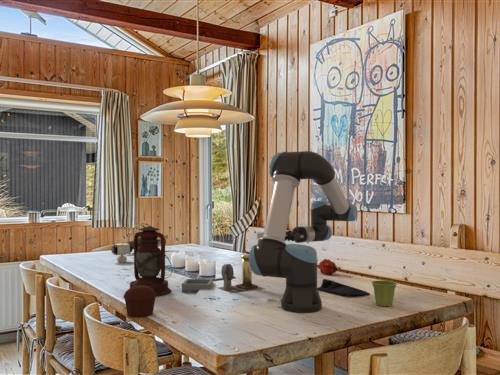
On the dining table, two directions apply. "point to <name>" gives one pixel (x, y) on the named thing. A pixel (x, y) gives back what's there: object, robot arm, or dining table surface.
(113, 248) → the pneumatic valve
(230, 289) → the board
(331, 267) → the red bumpy oval lump
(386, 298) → the plant pot
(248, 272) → the lock pin
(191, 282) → the tray
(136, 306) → the muffin
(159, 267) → the lantern
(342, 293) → the dark slate chunk
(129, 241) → the wood carving
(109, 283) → the dining table surface
